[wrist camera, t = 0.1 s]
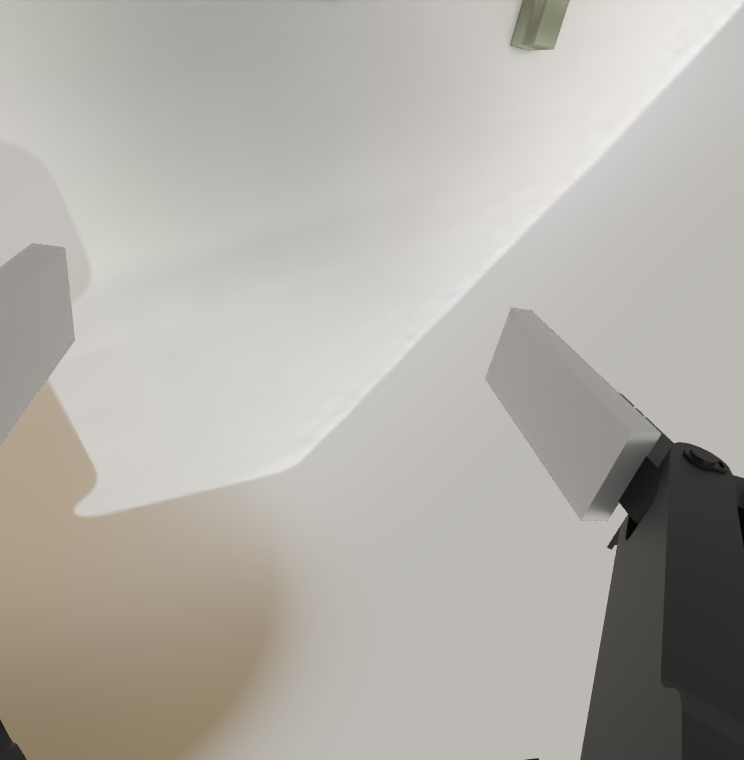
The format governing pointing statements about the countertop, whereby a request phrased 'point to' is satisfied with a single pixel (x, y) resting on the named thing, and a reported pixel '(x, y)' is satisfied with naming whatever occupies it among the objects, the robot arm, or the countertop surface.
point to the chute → (539, 24)
